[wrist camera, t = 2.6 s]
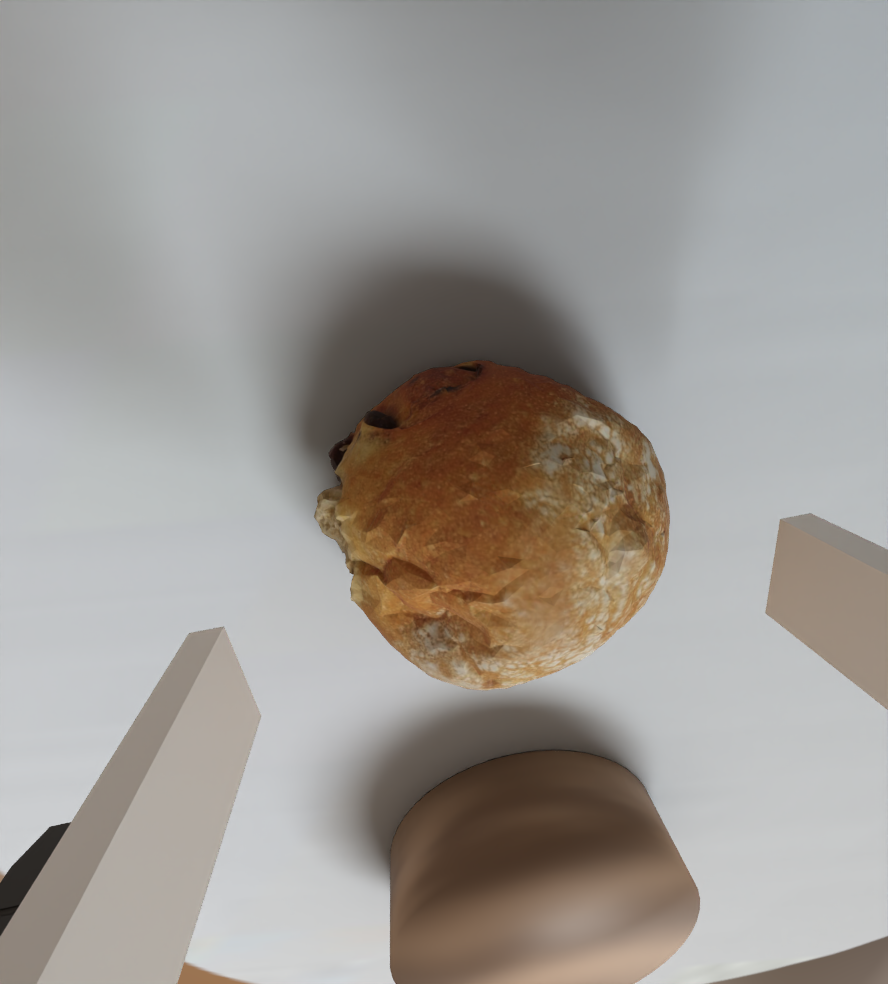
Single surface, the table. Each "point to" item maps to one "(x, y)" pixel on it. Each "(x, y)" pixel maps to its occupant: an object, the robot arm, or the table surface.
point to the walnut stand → (537, 877)
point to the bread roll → (496, 522)
